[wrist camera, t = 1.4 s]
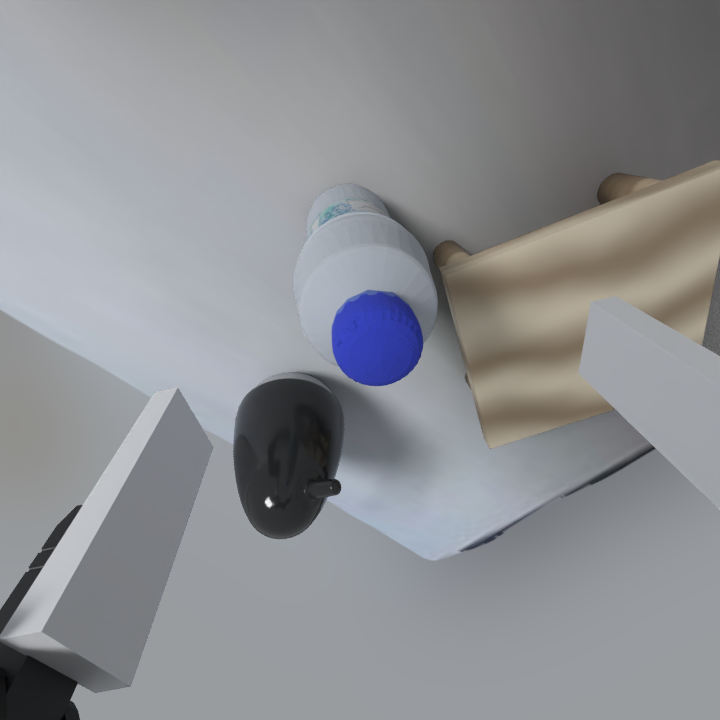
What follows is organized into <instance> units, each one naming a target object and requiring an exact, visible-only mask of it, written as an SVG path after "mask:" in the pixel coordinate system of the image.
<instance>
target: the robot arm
mask: <svg viewBox="0 0 720 720" xmlns="http://www.w3.org/2000/svg"><path fill="white" fill-rule="evenodd" d="M578 374H580V375H581V376H582V377H583V378H584V379H585V380H586V381H587V382H588V383H589V384H590V385H591V386H592V387H593V388H594V389H595V390H596V391H597V392H598V393H599V394H600V395H601V396H602V397H603V398H604V399H605V400H606V401H607V402H608V403H609V404H610V405H612V406H613V407H614V408H615V409H616V410H617V411H618V412H619V413H620V414H621V415H622V416H623V417H624V418H625V419H626V420H627V421H628V422H629V423H630V424H631V425H632V426H633V427H634V428H635V429H636V430H637V431H638V432H639V433H640V434H641V435H643V436H644V437H645V438H646V439H647V440H648V441H649V442H650V443H651V444H652V445H653V446H654V447H655V448H656V449H657V450H658V451H659V452H660V453H661V454H662V455H663V456H664V457H666V459H667V460H668V461H669V462H670V463H672V465H674V466H675V467H676V468H677V469H678V470H679V471H680V472H681V473H682V474H683V475H684V476H685V477H686V478H687V479H688V480H689V481H690V482H691V483H692V484H693V485H694V486H695V487H696V488H697V489H698V490H699V491H700V492H701V493H702V494H703V495H704V496H706V497H707V498H708V499H709V500H710V501H711V502H712V503H713V504H714V505H715V506H716V507H717V508H718V509H719V510H720V356H719V355H717V354H715V353H713V352H712V351H710V350H708V349H706V348H705V347H703V346H701V345H700V344H698V343H696V342H694V341H693V340H691V339H689V338H687V337H686V336H684V335H682V334H681V333H679V332H677V331H675V330H674V329H672V328H670V327H668V326H667V325H665V324H663V323H662V322H660V321H658V320H656V319H655V318H653V317H651V316H649V315H648V314H646V313H644V312H643V311H641V310H639V309H637V308H636V307H634V306H632V305H630V304H629V303H627V302H625V301H624V300H622V299H620V298H618V297H617V296H615V297H610V298H605V299H600V300H596V301H591V304H590V310H589V316H588V321H587V327H586V333H585V338H584V344H583V350H582V355H581V361H580V367H579V372H578ZM212 449H213V446H212V444H211V442H210V441H209V439H208V437H207V436H206V434H205V432H204V431H203V429H202V427H201V425H200V424H199V422H198V420H197V419H196V417H195V415H194V414H193V412H192V410H191V409H190V407H189V405H188V404H187V402H186V400H185V399H184V397H183V395H182V394H181V392H180V390H179V389H178V388H173V389H168V390H164V391H159V392H155V393H154V394H153V396H152V397H151V399H150V401H149V402H148V404H147V405H146V407H145V408H144V410H143V412H142V413H141V415H140V416H139V418H138V419H137V421H136V423H135V424H134V426H133V427H132V429H131V430H130V432H129V434H128V435H127V437H126V438H125V440H124V441H123V443H122V445H121V446H120V448H119V449H118V451H117V452H116V454H115V455H114V457H113V459H112V460H111V462H110V464H109V465H108V467H107V469H106V470H105V471H104V473H103V474H102V476H101V477H100V479H99V481H98V482H97V484H96V485H95V487H94V488H93V490H92V492H91V493H90V495H89V497H88V498H87V500H86V501H85V503H84V504H83V505H79V506H76V507H75V508H74V509H73V510H72V511H71V512H70V513H69V514H68V515H67V516H66V517H65V518H64V519H63V520H62V521H61V522H60V523H59V524H58V525H57V526H56V528H55V529H54V531H53V532H52V534H51V535H50V537H49V538H48V540H47V541H46V543H45V544H44V546H43V547H42V552H41V553H38V555H37V556H36V558H35V559H34V561H33V562H32V564H31V565H30V566H29V571H28V572H26V573H25V574H24V576H23V577H22V578H21V580H20V582H19V583H18V584H17V586H16V587H15V589H14V590H13V592H12V593H11V595H10V596H9V598H8V599H7V601H6V602H5V604H4V605H3V607H2V608H1V610H0V720H80V718H79V713H78V710H77V708H76V706H75V704H74V703H73V702H72V701H70V699H71V697H72V695H73V692H74V690H75V688H76V686H77V683H78V684H80V685H81V686H84V687H85V688H87V689H89V690H91V691H93V692H95V693H97V692H102V691H108V690H113V689H119V688H125V687H130V686H131V684H132V681H133V678H134V676H135V672H136V670H137V667H138V664H139V661H140V658H141V655H142V652H143V649H144V646H145V644H146V641H147V638H148V635H149V632H150V629H151V626H152V623H153V620H154V617H155V614H156V612H157V609H158V606H159V603H160V600H161V597H162V594H163V591H164V588H165V586H166V582H167V580H168V577H169V574H170V571H171V568H172V565H173V562H174V560H175V557H176V554H177V551H178V548H179V545H180V542H181V539H182V536H183V534H184V531H185V528H186V525H187V522H188V519H189V516H190V513H191V510H192V507H193V505H194V501H195V499H196V496H197V493H198V490H199V487H200V484H201V481H202V478H203V476H204V473H205V470H206V467H207V464H208V461H209V458H210V455H211V452H212Z"/></svg>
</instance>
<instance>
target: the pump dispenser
mask: <svg viewBox="0 0 720 720" xmlns="http://www.w3.org/2000/svg"><path fill="white" fill-rule="evenodd" d="M343 439H344V414H343V410H342V407H341V405H340V403H339V401H338V400H337V399H336V397H335V396H334V395H333V394H332V392H331V391H330V390H329V389H328V388H327V386H325V385H324V384H323V383H322V382H320V381H319V380H317V379H316V378H314V377H311V376H309V375H306V374H301V373H282V374H277V375H274V376H272V377H269V378H267V379H265V380H264V381H262V382H261V383H260V384H258V385H257V386H256V387H255V388H254V389H253V390H251V391H250V392H249V393H248V394H247V395H246V396H245V397H244V399H243V400H242V402H241V404H240V406H239V409H238V412H237V416H236V420H235V428H234V442H233V457H234V470H235V476H236V483H237V488H238V493H239V497H240V500H241V503H242V506H243V509H244V511H245V513H246V515H247V517H248V519H249V521H250V523H251V524H252V525H253V527H254V528H255V529H256V530H257V531H258V532H260V533H261V534H263V535H265V536H267V537H270V538H274V539H287V538H291V537H294V536H296V535H299V534H300V533H302V532H303V531H305V530H306V529H307V528H308V527H309V526H310V525H311V524H312V522H313V521H314V520H315V519H316V517H317V516H318V514H319V513H320V511H321V509H322V508H323V506H324V504H325V502H326V500H327V497H329V496H334V495H338V494H339V493H340V491H341V484H340V482H339V481H338V480H337V479H335V476H336V473H337V469H338V466H339V462H340V457H341V452H342V446H343Z"/></svg>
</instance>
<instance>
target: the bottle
mask: <svg viewBox="0 0 720 720" xmlns="http://www.w3.org/2000/svg"><path fill="white" fill-rule="evenodd" d="M306 238H307V241H306V243H305V244H304V246H303V248H302V251H301V253H300V256H299V259H298V261H297V264H296V267H295V271H294V278H293V288H294V296H295V301H296V304H297V309H298V315H299V320H300V324H301V328H302V331H303V333H304V335H305V337H306V339H307V341H308V343H309V344H310V345H311V347H312V348H313V349H314V350H315V351H316V352H317V353H318V354H319V355H320V356H321V357H322V358H324V359H325V360H327V361H328V362H330V363H332V364H334V365H336V366H339V367H340V368H341V370H342V371H343V372H344V373H345V374H346V375H347V376H348V377H349V378H351V379H353V380H354V381H356V382H359V383H361V384H364V385H369V386H383V385H388V384H392V383H394V382H396V381H399V380H401V379H402V378H403V377H405V376H406V375H408V374H409V373H410V372H411V371H412V370H413V369H414V367H415V366H416V365H417V364H418V360H419V359H420V357H421V352H422V349H423V343H424V342H425V341H426V339H427V338H428V336H429V334H430V332H431V330H432V328H433V326H434V323H435V319H436V316H437V307H438V299H437V292H436V288H435V285H434V281H433V278H432V275H431V272H430V268H429V263H428V260H427V257H426V254H425V252H424V250H423V248H422V247H421V245H420V243H419V242H418V241H417V240H416V238H415V237H414V236H413V235H412V234H411V233H410V232H408V231H407V230H406V229H405V228H404V227H403V226H402V225H400V224H399V223H398V222H396V221H395V220H393V219H391V218H390V216H389V213H388V211H387V209H386V207H385V206H384V204H383V202H382V201H381V200H380V199H379V198H378V196H377V195H375V194H374V193H373V192H371V191H369V190H368V189H366V188H364V187H361V186H358V185H355V184H341V185H338V186H335V187H332V188H330V189H328V190H327V191H325V192H323V193H322V194H321V195H319V196H318V197H317V199H316V200H315V202H314V203H313V205H312V207H311V210H310V212H309V214H308V217H307V223H306Z"/></svg>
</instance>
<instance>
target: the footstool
mask: <svg viewBox="0 0 720 720" xmlns="http://www.w3.org/2000/svg"><path fill="white" fill-rule="evenodd" d="M597 196H598V200H599V202H600V203H601V204H602V205H599V206H597V207H594V208H592V209H589V210H586V211H584V212H581V213H579V214H576V215H574V216H571V217H568V218H566V219H563V220H561V221H558V222H556V223H553V224H551V225H548V226H545V227H543V228H540V229H538V230H535V231H533V232H530V233H527V234H525V235H522V236H520V237H517V238H515V239H512V240H510V241H507V242H504V243H502V244H499V245H497V246H494V247H492V248H489V249H486V250H484V251H481V252H479V253H476V254H474V255H471V256H470V255H469V254H468V253H467V252H466V251H465V250H463V249H462V248H461V247H460V246H459V245H458V244H457V243H455V242H453V241H444V242H442V243H440V244H439V245H438V246H437V247H436V249H435V250H434V253H433V260H434V263H435V264H436V265H437V267H438V268H439V269H440V272H441V276H442V280H443V283H444V287H445V291H446V295H447V299H448V302H449V306H450V310H451V314H452V318H453V322H454V325H455V329H456V333H457V337H458V341H459V345H460V348H461V352H462V356H463V360H464V364H465V367H466V371H467V373H466V375H465V379H466V382H467V383H468V385H469V387H470V389H471V390H472V394H473V398H474V402H475V406H476V410H477V413H478V417H479V421H480V425H481V429H482V432H483V436H484V439H485V441H486V443H487V445H488V447H489V448H490V449H492V448H495V447H498V446H501V445H505V444H508V443H511V442H514V441H517V440H520V439H523V438H526V437H530V436H533V435H536V434H539V433H542V432H545V431H548V430H552V429H555V428H558V427H561V426H564V425H567V424H570V423H574V422H577V421H580V420H583V419H586V418H589V417H592V416H596V415H599V414H602V413H605V412H608V411H611V410H614V409H615V408H614V407H613V406H612V405H610V404H609V403H608V402H607V401H606V400H605V399H604V398H603V397H602V396H601V395H600V394H599V393H598V392H597V391H596V390H595V389H594V388H593V387H592V386H591V385H590V384H589V383H588V382H587V381H586V380H585V379H584V378H583V377H582V376H581V375H580V374H578V372H579V367H580V361H581V355H582V350H583V344H584V338H585V333H586V327H587V321H588V316H589V310H590V304H591V301H596V300H600V299H605V298H610V297H615V296H617V297H618V298H620V299H622V300H624V301H625V302H627V303H629V304H630V305H632V306H634V307H636V308H637V309H639V310H641V311H643V312H644V313H646V314H648V315H649V316H651V317H653V318H655V319H656V320H658V321H660V322H662V323H663V324H665V325H667V326H668V327H670V328H672V329H674V330H675V331H677V332H679V333H681V334H682V335H684V336H686V337H687V338H689V339H691V340H693V341H694V342H696V343H698V344H700V345H701V346H702V343H703V337H704V332H705V327H706V322H707V317H708V312H709V307H710V302H711V297H712V292H713V287H714V282H715V277H716V272H717V266H718V261H719V256H720V161H717V160H715V161H712V162H709V163H707V164H704V165H702V166H699V167H697V168H694V169H691V170H689V171H686V172H684V173H681V174H679V175H676V176H674V177H671V178H668V179H666V180H657V179H651V178H646V177H640V176H634V175H628V174H622V173H615V174H612V175H610V176H609V177H607V178H606V179H605V180H604V181H603V182H602V184H601V185H600V187H599V190H598V195H597Z"/></svg>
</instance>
